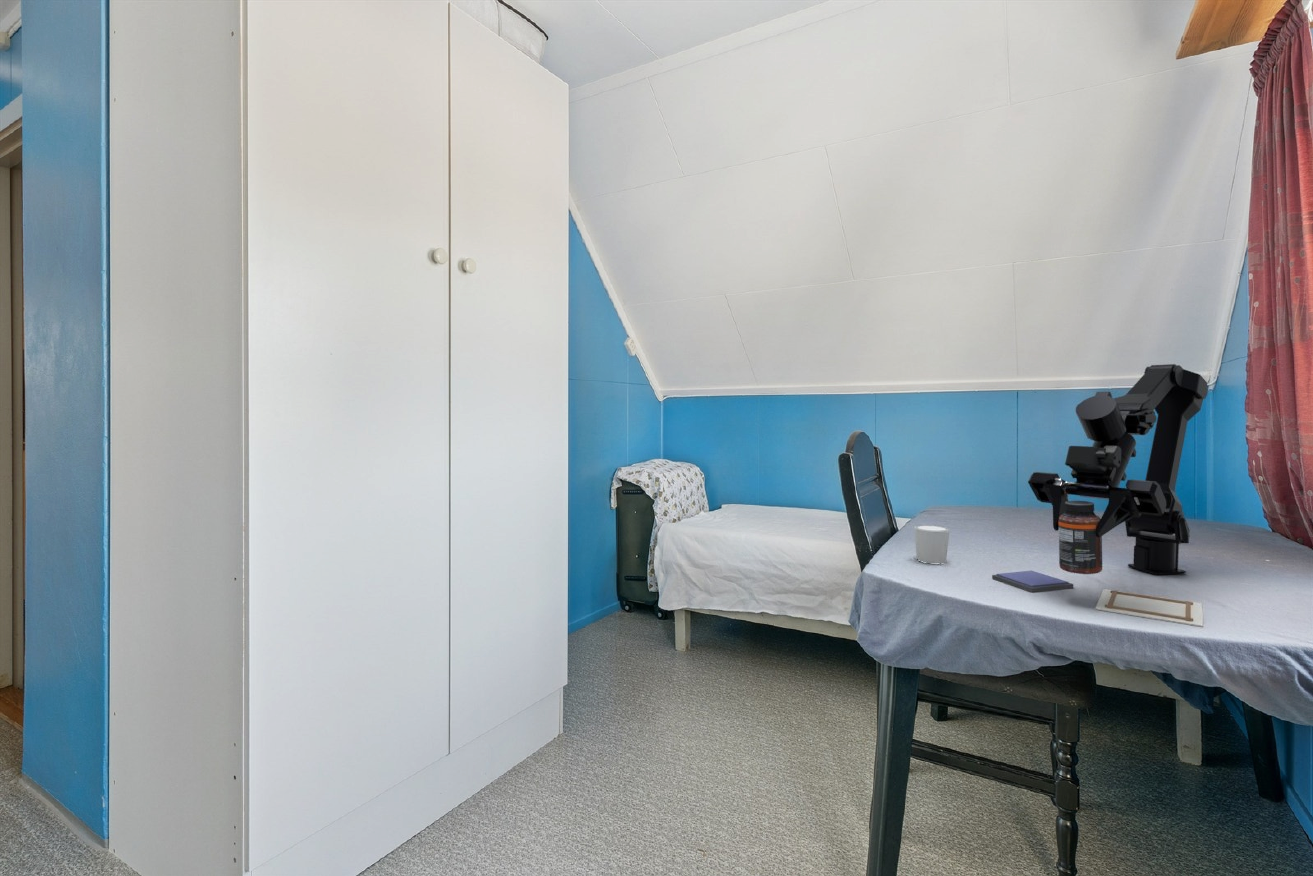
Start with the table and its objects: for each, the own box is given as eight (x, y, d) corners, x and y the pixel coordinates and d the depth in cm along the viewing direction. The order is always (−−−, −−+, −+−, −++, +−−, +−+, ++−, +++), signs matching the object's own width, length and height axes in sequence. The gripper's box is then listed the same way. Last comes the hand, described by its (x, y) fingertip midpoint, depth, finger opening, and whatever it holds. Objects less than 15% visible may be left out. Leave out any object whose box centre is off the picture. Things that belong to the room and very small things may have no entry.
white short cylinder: (907, 557, 136) (907, 525, 135) (938, 556, 136) (938, 524, 136) (923, 565, 129) (924, 531, 128) (956, 564, 129) (956, 530, 129)
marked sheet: (1103, 590, 111) (1103, 587, 111) (1201, 604, 103) (1202, 601, 103) (1095, 609, 101) (1095, 606, 101) (1203, 627, 93) (1203, 623, 93)
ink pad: (1031, 574, 121) (1031, 569, 121) (1073, 588, 112) (1073, 582, 112) (992, 578, 119) (992, 573, 119) (1031, 592, 110) (1031, 586, 110)
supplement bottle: (1089, 565, 107) (1088, 498, 106) (1110, 575, 101) (1110, 504, 101) (1051, 566, 108) (1051, 499, 107) (1071, 575, 102) (1070, 505, 101)
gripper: (1034, 426, 113) (1000, 494, 108) (1161, 429, 98) (1128, 509, 92) (1055, 467, 118) (1023, 534, 113) (1179, 476, 102) (1149, 554, 97)
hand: (1075, 532), depth 103 cm, fingers closed on supplement bottle, 6 cm apart
